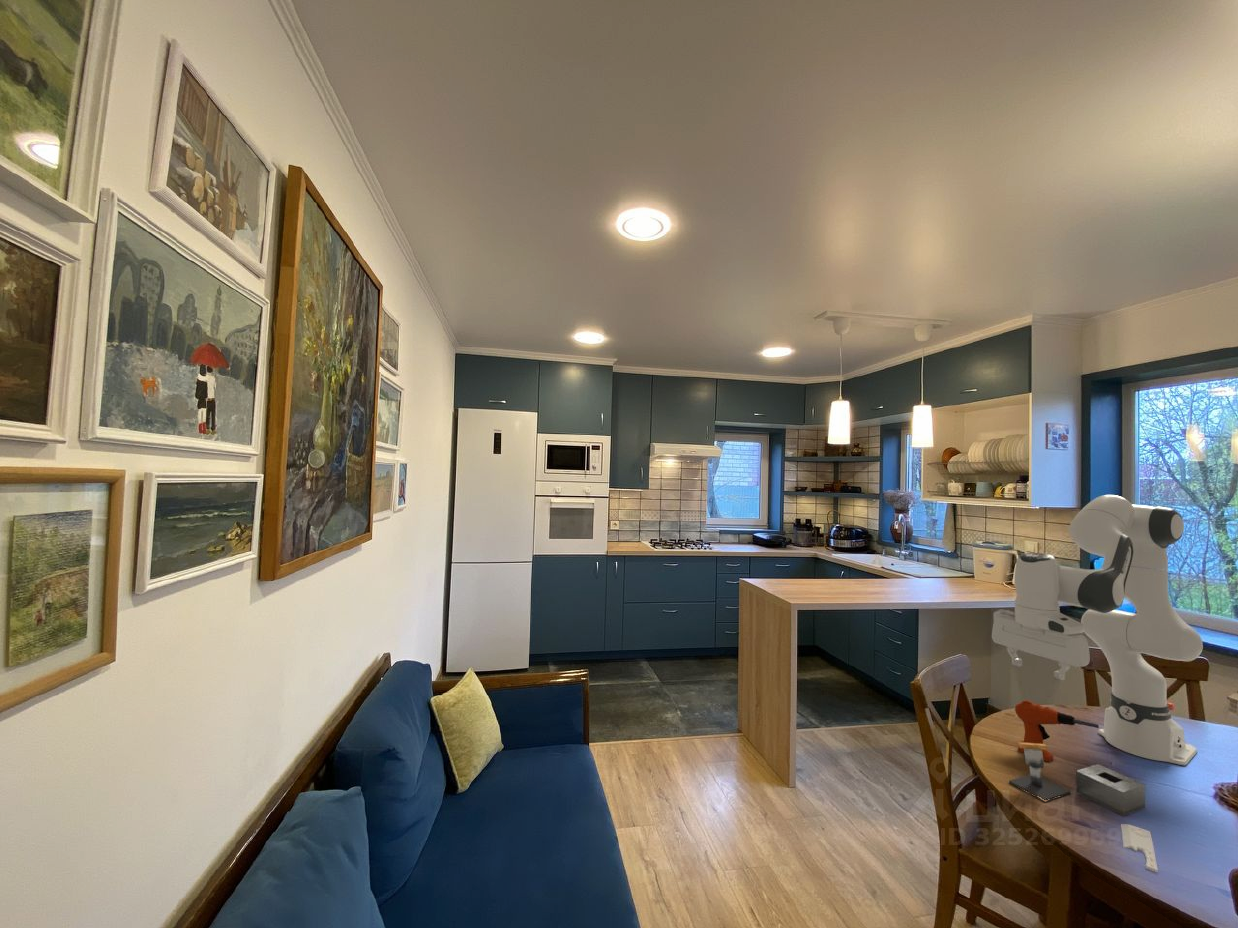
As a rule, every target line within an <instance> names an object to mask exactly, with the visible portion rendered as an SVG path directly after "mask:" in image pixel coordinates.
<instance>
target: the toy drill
mask: <svg viewBox="0 0 1238 928" xmlns="http://www.w3.org/2000/svg"><path fill="white" fill-rule="evenodd" d="M1014 712H1015V714H1016V715H1017V717H1018V718H1019V719H1020V720H1021V721H1023V722H1022V723H1023V727H1024V737H1023V740H1022V741H1019V742H1023V743H1038V744H1044V740H1047V739H1049V738H1051V737H1050V736H1051V735H1049V734H1048V732H1047V731H1046V728H1045V727H1044V725H1068V726H1075V725H1076V724H1077V725H1079V726H1080V725H1081V726H1085V727H1091V728H1096V729H1100V726H1099V724H1097V723H1093V722H1088V721H1084V720H1080V719H1075V717H1074V716H1072V715H1068V714H1066V713H1063V712H1061V711H1059V710H1055V709H1054V708H1052V707H1049V706H1046V707H1045V706H1043V705H1041V704H1036V703H1033V702H1032V701H1030V700H1028V699H1026V700H1023V701H1021V702H1018V703H1017V704H1016V705H1015V707H1014ZM1018 750H1019V752H1021V753H1023V754H1025V752H1024V748H1020V747H1019V746H1018ZM1042 753H1043V762H1044V761H1045V762H1053V760H1054V755H1053V753H1052V752H1050V751H1049V750H1048V749H1047V750H1042Z"/></svg>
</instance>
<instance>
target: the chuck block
mask: <svg viewBox="0 0 1238 928" xmlns="http://www.w3.org/2000/svg"><path fill="white" fill-rule="evenodd" d="M1075 775H1076V776H1075V779H1076V780H1075V782H1076V785H1075V786H1076V794H1077V795H1079V796H1081V797H1083V798H1085V799H1087V800H1090V801H1091V802H1094V803H1095V804H1098V805H1099V806H1101V807H1104V808H1105V809H1108V810H1110V811H1112V812H1114V813H1116V814H1117V815H1120V816H1122V817H1126V816H1129V815H1131V814H1133V813H1135V812H1139V811H1140V810H1143V809H1146V784H1145V783H1143V782H1140V781H1138V780H1136V779H1133V778H1131V777H1129V776H1126V775H1123V774H1122V773H1120V772H1117V771H1115V770H1113V769H1110V768H1107V767H1105V766H1103V765H1102V764H1098V763H1097V764H1093V765H1090V766H1087V767H1084V768H1081V769H1077V770H1076V771H1075Z"/></svg>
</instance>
